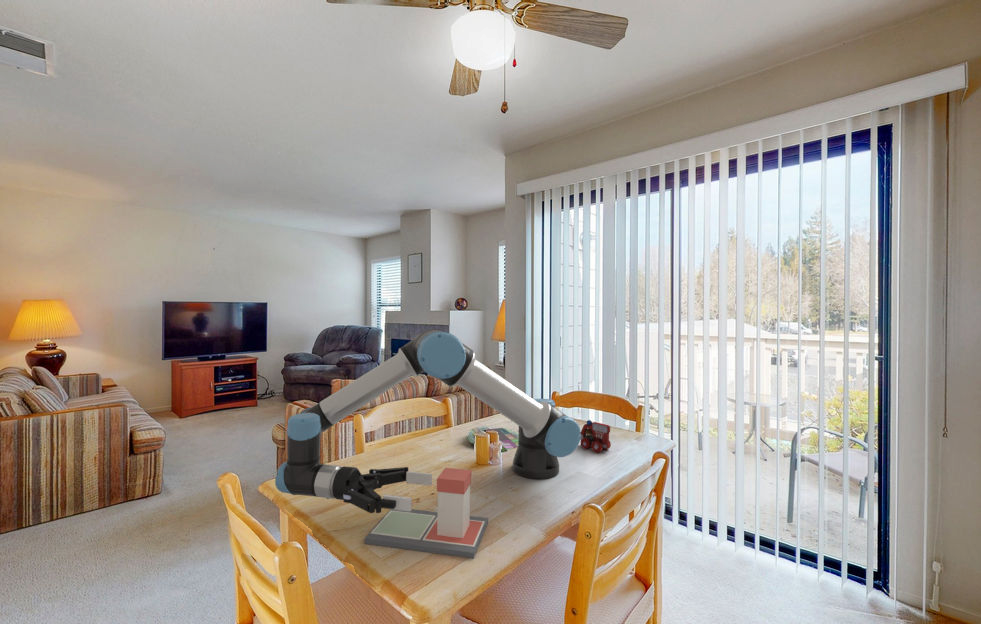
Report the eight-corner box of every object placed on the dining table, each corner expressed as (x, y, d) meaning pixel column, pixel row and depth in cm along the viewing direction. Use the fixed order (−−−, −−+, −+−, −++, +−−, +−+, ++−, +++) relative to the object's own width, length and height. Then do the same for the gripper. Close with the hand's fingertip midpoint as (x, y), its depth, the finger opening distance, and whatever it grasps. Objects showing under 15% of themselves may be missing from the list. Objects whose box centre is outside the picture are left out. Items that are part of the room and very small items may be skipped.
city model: (497, 464, 149) (499, 447, 148) (451, 441, 164) (453, 426, 164) (537, 448, 168) (539, 433, 167) (493, 429, 183) (495, 415, 182)
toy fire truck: (586, 442, 167) (587, 416, 167) (614, 451, 158) (615, 423, 158) (575, 446, 163) (576, 419, 163) (603, 455, 153) (604, 426, 153)
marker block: (470, 524, 101) (471, 470, 101) (463, 538, 95) (464, 481, 94) (444, 521, 102) (445, 467, 102) (436, 535, 96) (436, 478, 96)
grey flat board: (487, 522, 105) (488, 517, 104) (473, 558, 90) (473, 551, 90) (392, 511, 109) (392, 506, 109) (364, 543, 95) (364, 537, 95)
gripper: (363, 477, 116) (438, 485, 112) (307, 523, 91) (400, 535, 87) (364, 450, 116) (438, 456, 112) (308, 488, 91) (401, 499, 87)
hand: (422, 491), depth 100 cm, fingers open, 13 cm apart
